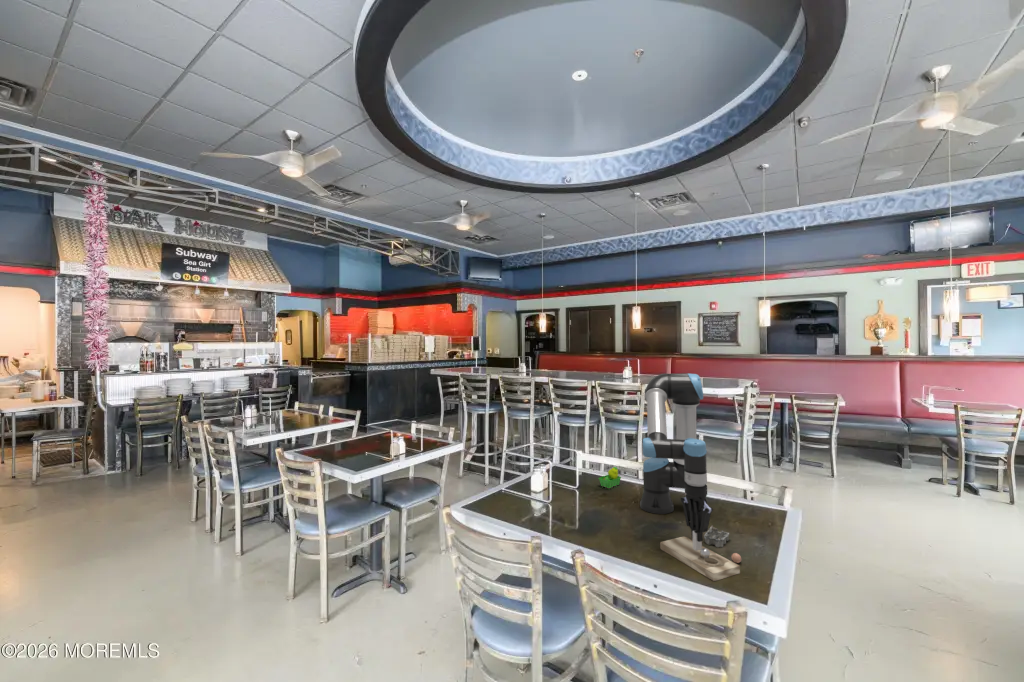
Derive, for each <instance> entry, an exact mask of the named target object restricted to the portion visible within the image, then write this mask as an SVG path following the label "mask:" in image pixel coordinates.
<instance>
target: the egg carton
mask: <svg viewBox="0 0 1024 682" xmlns="http://www.w3.org/2000/svg"><path fill="white" fill-rule="evenodd" d="M729 535H730V532H727V531H724V530H721V531H719V528H717V527H714V525H711V526H709V527H708V531H707V532H704V534H703V540H704V543H705V544H706V545H714V546H715V547H716V548H723V547H724V545H726V544H727V542H728V541H729Z"/></svg>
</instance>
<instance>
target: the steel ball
mask: <svg viewBox="0 0 1024 682" xmlns="http://www.w3.org/2000/svg"><path fill="white" fill-rule="evenodd" d="M706 548H707V547H705V548H702V549H701V550H700V554H701V556H702V557H703V558H708V557H709V556H710V552H709V550H710V549H709V548H707V549H706ZM708 549H709V550H708Z"/></svg>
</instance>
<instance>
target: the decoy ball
mask: <svg viewBox="0 0 1024 682" xmlns="http://www.w3.org/2000/svg"><path fill="white" fill-rule="evenodd" d="M730 557H731V561H732V562H734V563H736V564H739V563H741V562H742V557H741V555H740V554H739V553H737V552H734V553H731V556H730Z"/></svg>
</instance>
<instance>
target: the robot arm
mask: <svg viewBox="0 0 1024 682" xmlns="http://www.w3.org/2000/svg"><path fill="white" fill-rule="evenodd" d="M644 390H645V391H644V400H645V401H646V407H647V410H646V414H647V415H646V416H647V425H646V426H647V427H646V428H647V437H643V439H642V455H643V456H644V457H645V458H647V459H645V460H644V462H643V464H642V466H643V467H642V468H643V469H642V472H643V491H642V496H641V499H640V501H639V505H640V506H639V508H640V509H641V510H643V511H644V512H648V513H652V514H659V515H664V514H665V515H666V514H671V513H672V512H674V510H675V508H674V507H675V506H674V502H673V500H672V497H671V493H670V489H671V488H672V489H674V488H675V489H683V490H684V492H685V493H684V494H685V497H680V502H681V503H682V507H683V513H684V519H685V524H686V527H689V528H690V530H691V539H692V541H693V549H694V550H696V551H697V550H700V549H702V546H703V544H702V542H703V540H704V534H705V533H706V532H707V531H708V530H709V527H710V526H709V524H710V519H711V514H712V512H713V511H714V509H713V507H710V506H709V505H708V502H707V501H708V500H707V496H708V485H707V484H708V474H707V472H708V471H707V453H708V452H707V451H708V449H707V444H706V441H704V440H701V439H698V438H697V407H698V406H699V405H700V403H701V402H700V401H701V400H704V391H703V385H702V381H701V377H700V375H699V374H697V373H685V372H684V373H683V372H682V373H661V374H657V375H656V376H655V377H653V378H652V379H651V380H650V381H649V382H648V383H647V385H646V387H645V389H644ZM667 400H672V404H673V406H675V411H676V412H675V413H676V414H675V417H676V419H675V421H676V423H675V425H676V439H675V438H674V439H673V438H668V432H667V427H668V426H667V413H666V412H667V411H666V402H667ZM670 459H671V460H673V461H670ZM703 533H704V534H703Z"/></svg>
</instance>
